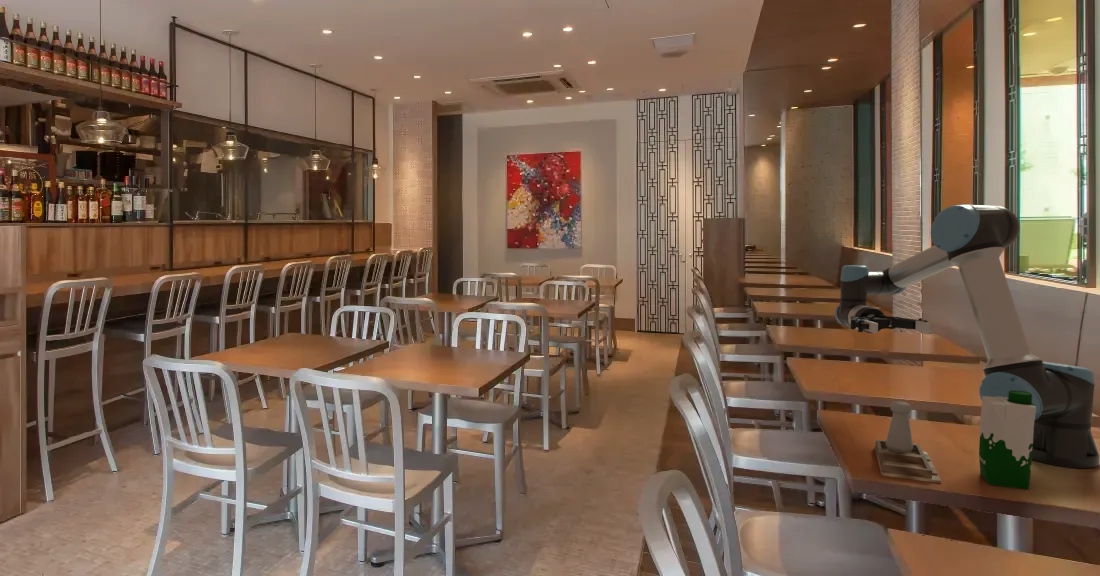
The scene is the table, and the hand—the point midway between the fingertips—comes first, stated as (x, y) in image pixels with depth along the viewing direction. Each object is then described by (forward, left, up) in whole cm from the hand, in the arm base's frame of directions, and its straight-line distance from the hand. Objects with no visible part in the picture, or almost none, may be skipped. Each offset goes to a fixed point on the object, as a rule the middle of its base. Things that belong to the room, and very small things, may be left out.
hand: (903, 328), depth 159 cm
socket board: (+1, +19, -30) cm, 36 cm away
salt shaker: (+1, +14, -30) cm, 33 cm away
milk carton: (-18, +23, -30) cm, 42 cm away
